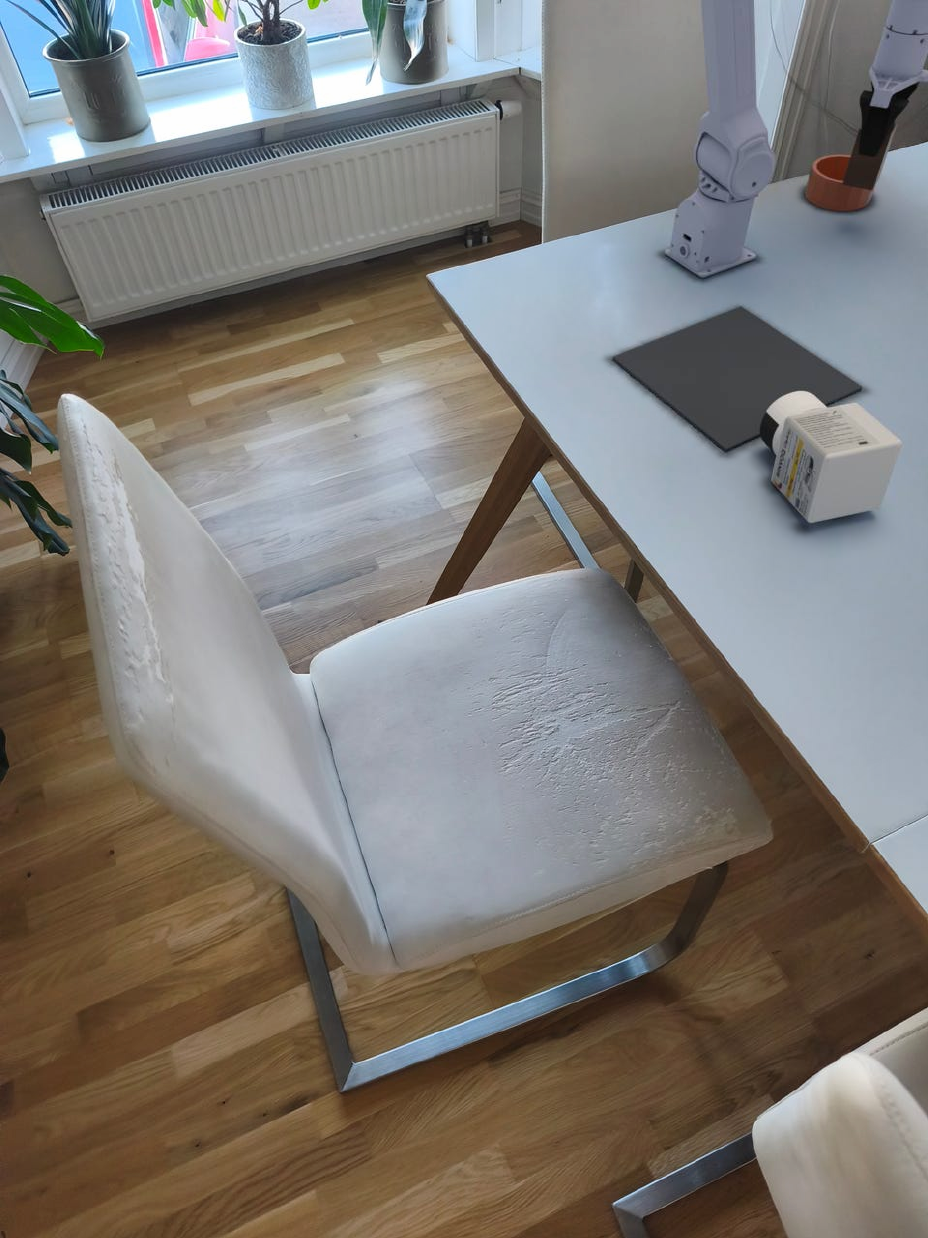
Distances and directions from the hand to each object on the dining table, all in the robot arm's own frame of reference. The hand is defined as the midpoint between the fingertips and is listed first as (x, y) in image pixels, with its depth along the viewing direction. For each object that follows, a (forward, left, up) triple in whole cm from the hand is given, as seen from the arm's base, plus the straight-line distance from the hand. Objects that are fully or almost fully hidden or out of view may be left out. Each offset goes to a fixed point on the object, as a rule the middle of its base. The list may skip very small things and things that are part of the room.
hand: (871, 147), depth 111 cm
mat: (-37, -18, -10) cm, 42 cm away
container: (-44, -42, -6) cm, 61 cm away
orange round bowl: (+5, +7, -10) cm, 14 cm away
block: (0, 0, -4) cm, 4 cm away
